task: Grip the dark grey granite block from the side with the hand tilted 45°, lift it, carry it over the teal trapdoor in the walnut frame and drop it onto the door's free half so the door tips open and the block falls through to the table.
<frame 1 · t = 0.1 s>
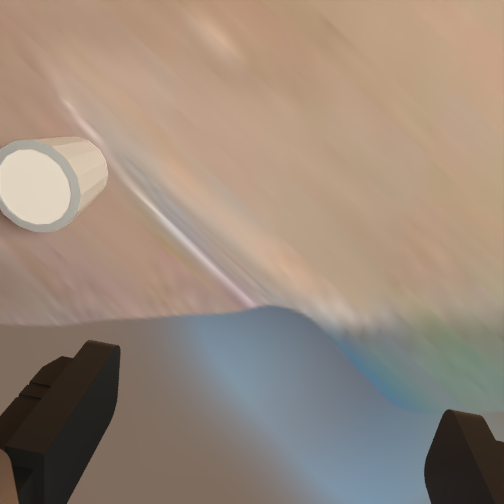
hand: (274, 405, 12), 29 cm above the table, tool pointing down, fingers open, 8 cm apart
white cup: (77, 168, 41), on the table
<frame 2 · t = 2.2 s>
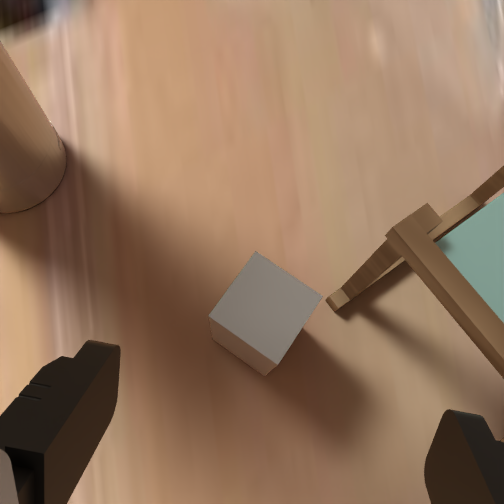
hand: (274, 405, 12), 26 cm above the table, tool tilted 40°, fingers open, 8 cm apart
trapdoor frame: (473, 326, 39), on the table
granite block: (256, 331, 38), on the table
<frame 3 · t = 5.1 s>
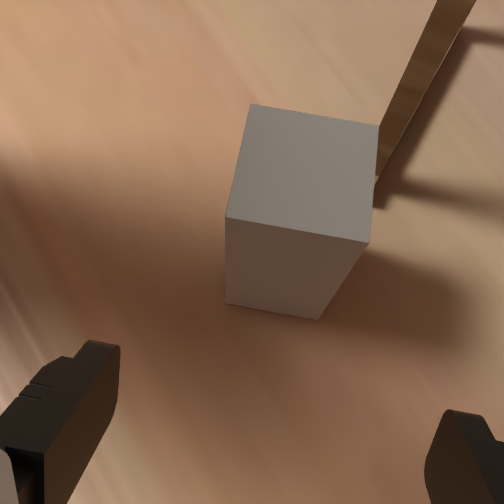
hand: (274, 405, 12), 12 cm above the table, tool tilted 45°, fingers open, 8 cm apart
granite block: (278, 268, 26), on the table
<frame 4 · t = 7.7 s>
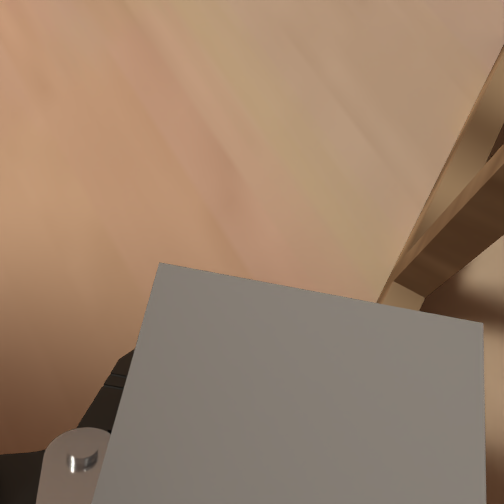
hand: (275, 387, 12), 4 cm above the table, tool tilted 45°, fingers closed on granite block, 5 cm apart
granite block: (255, 462, 15), on the table, touching gripper
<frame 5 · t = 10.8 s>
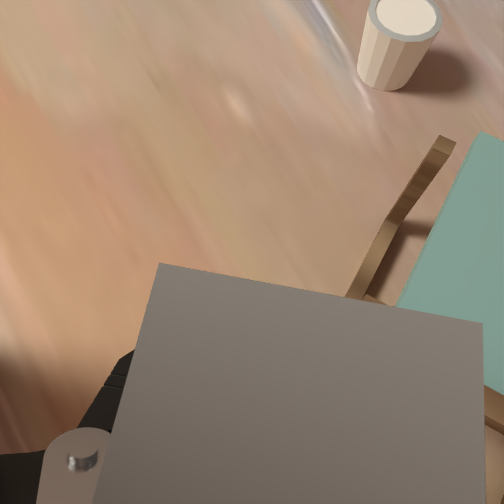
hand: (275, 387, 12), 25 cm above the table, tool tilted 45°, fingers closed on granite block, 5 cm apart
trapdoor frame: (445, 344, 38), on the table
white cup: (382, 71, 50), on the table
granite block: (255, 462, 15), point 21 cm above the table, touching gripper
when the fingers open (22 cm above the table, at t = 13.9 s): granite block drops 8 cm and tips over, point 9 cm above the table.
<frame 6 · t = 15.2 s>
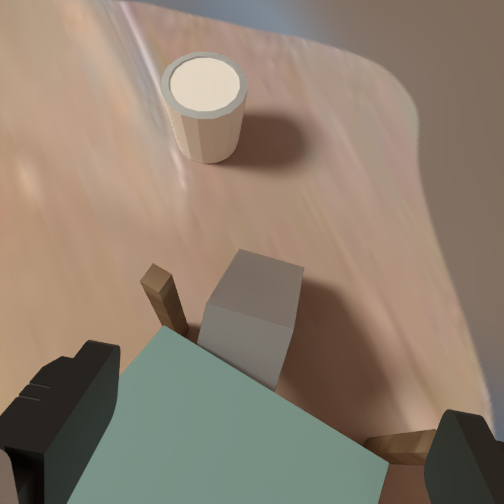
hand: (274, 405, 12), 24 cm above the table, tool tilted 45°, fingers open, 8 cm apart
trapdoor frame: (215, 488, 32), on the table
white cup: (208, 139, 44), on the table
granite block: (239, 354, 27), point 9 cm above the table, tilted 137°
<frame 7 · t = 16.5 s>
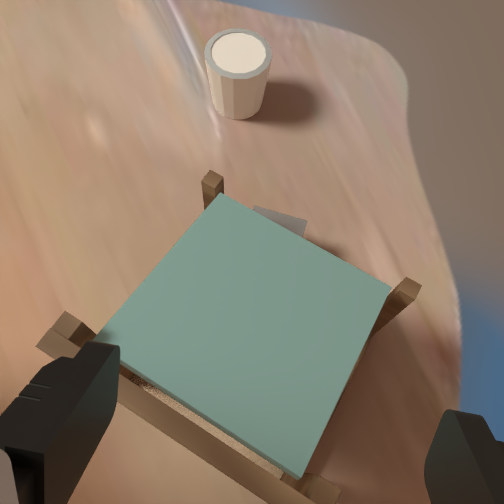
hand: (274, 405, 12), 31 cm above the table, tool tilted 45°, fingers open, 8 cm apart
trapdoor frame: (247, 353, 43), on the table
trapdoor: (253, 315, 31), point 13 cm above the table, hinge at -11.3°
white cup: (237, 101, 54), on the table
granite block: (247, 322, 41), point 2 cm above the table, tilted 90°
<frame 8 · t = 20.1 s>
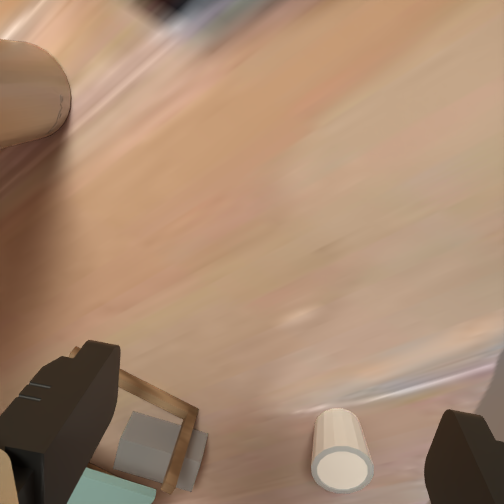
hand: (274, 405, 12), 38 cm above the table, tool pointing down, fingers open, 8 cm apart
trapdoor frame: (113, 426, 62), on the table
white cup: (337, 425, 59), on the table
granite block: (123, 438, 59), point 2 cm above the table, tilted 90°
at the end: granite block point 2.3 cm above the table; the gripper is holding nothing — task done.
